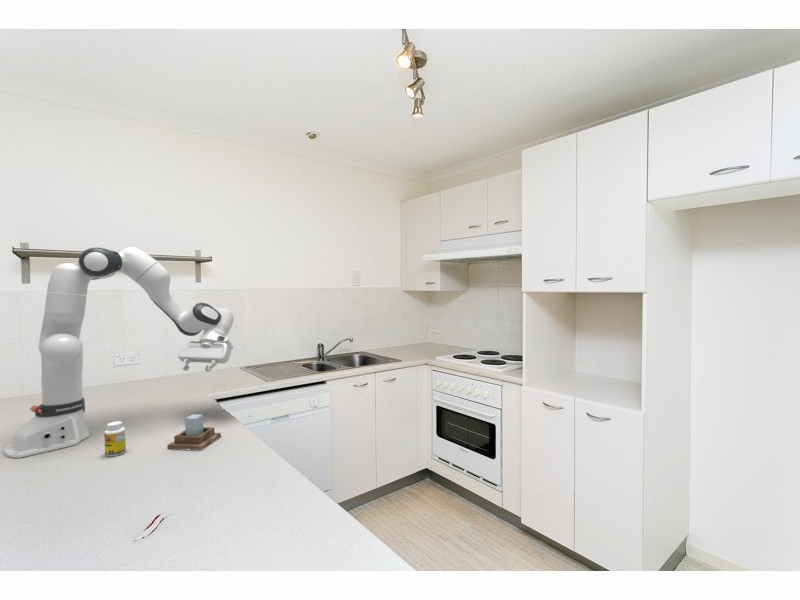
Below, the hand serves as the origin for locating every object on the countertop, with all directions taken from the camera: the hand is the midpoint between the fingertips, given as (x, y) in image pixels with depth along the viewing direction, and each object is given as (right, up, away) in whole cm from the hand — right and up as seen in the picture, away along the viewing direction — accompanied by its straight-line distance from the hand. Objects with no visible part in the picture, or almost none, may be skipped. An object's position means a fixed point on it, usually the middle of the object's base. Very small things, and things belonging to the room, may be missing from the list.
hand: (196, 370), depth 153 cm
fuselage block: (+7, -21, -15) cm, 27 cm away
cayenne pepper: (+22, -26, -62) cm, 71 cm away
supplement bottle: (-15, -24, -23) cm, 36 cm away
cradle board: (+7, -23, -15) cm, 28 cm away
